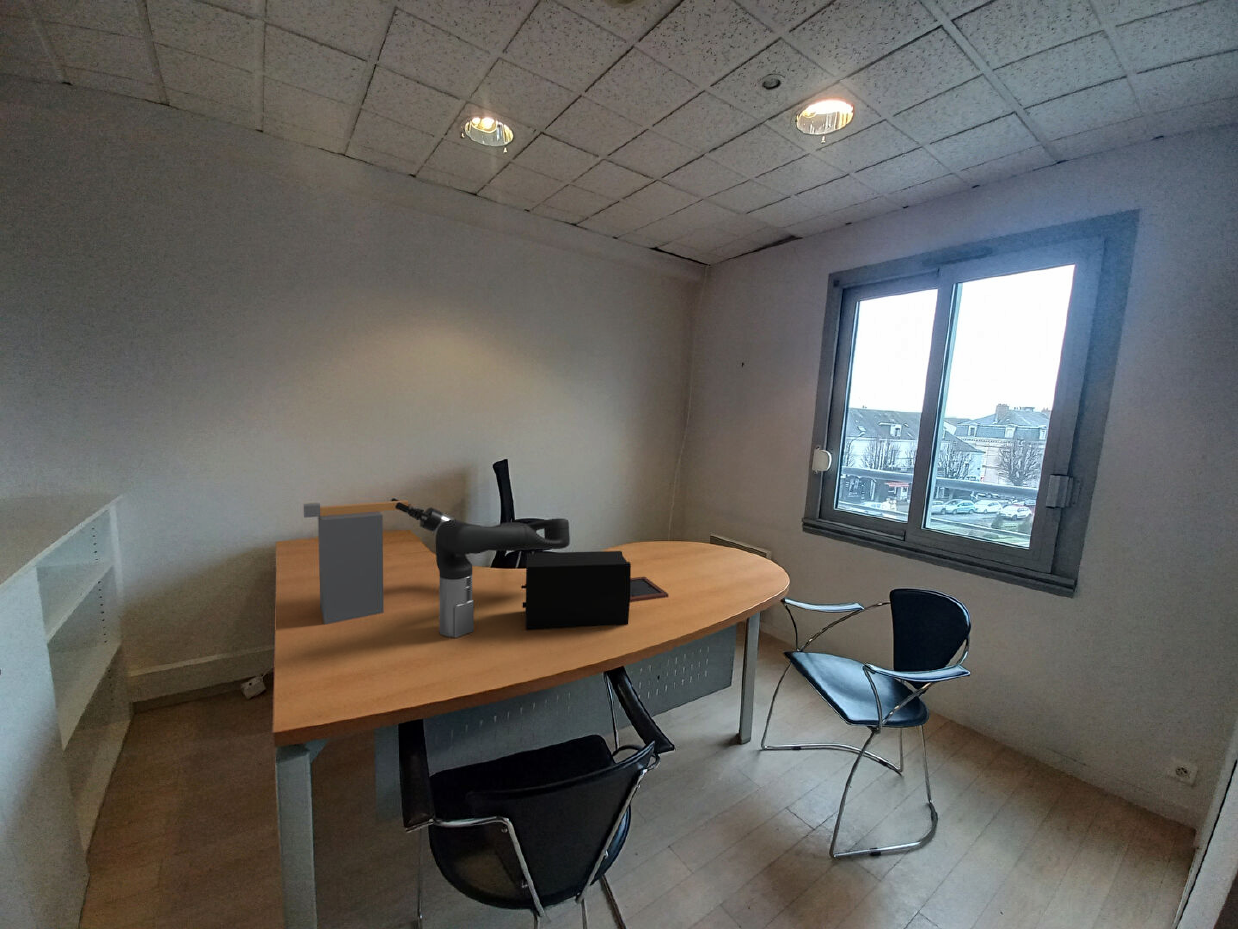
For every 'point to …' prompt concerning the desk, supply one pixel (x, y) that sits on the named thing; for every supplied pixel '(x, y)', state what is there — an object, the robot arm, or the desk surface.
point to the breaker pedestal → (350, 565)
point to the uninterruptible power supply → (576, 589)
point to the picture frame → (645, 590)
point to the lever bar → (348, 508)
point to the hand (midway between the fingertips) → (393, 502)
